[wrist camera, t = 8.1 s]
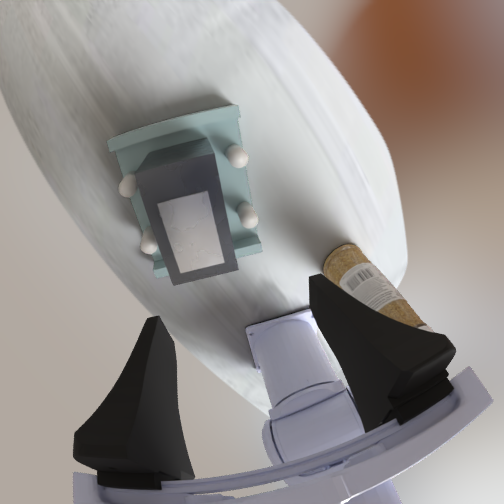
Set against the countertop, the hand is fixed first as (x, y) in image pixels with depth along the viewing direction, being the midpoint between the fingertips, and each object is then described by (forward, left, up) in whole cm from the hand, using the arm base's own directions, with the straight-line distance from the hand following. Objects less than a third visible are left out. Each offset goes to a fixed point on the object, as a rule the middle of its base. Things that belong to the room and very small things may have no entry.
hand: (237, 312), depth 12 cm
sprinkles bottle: (-8, -11, -11) cm, 17 cm away
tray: (+3, +1, -10) cm, 11 cm away
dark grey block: (+3, +1, -10) cm, 10 cm away
